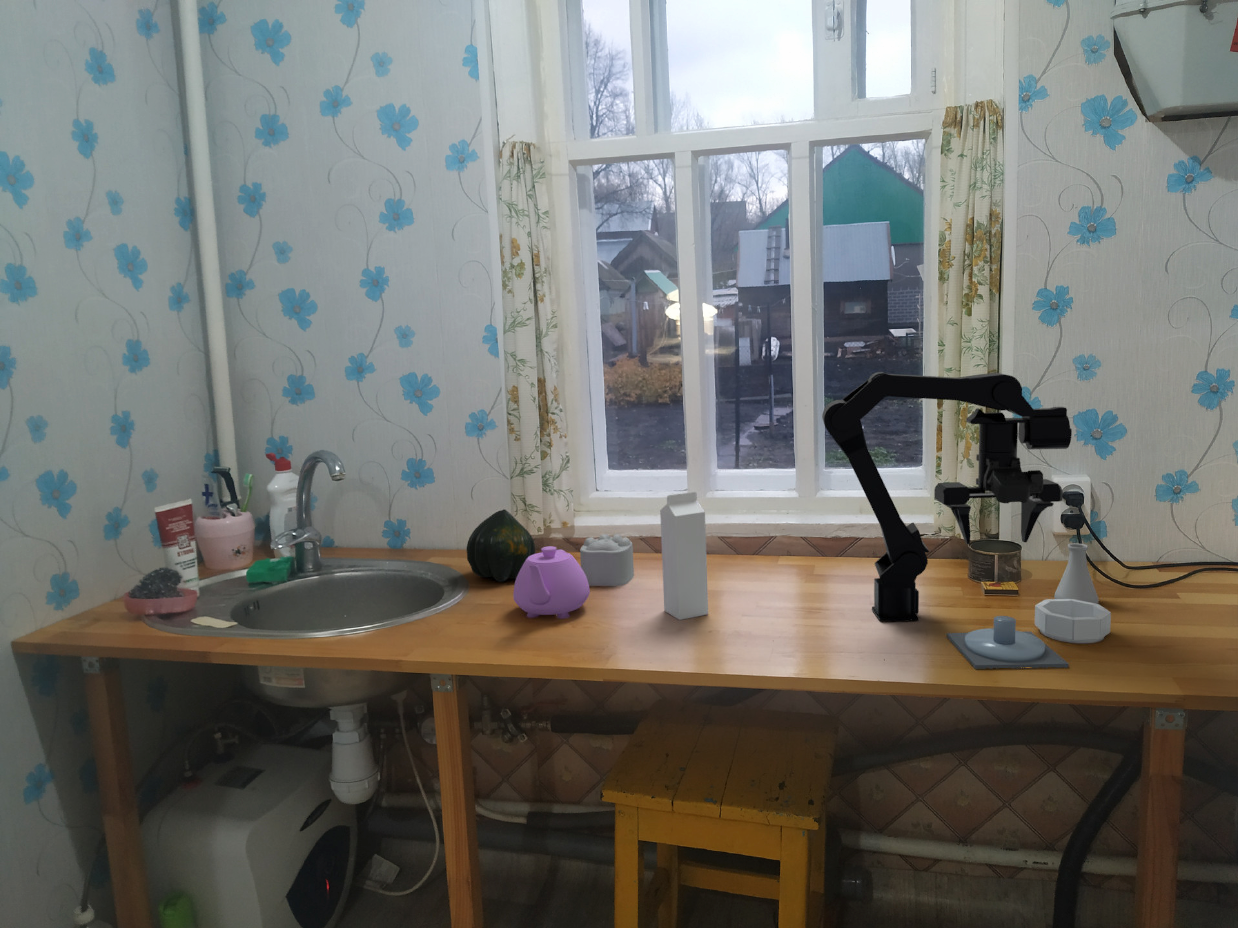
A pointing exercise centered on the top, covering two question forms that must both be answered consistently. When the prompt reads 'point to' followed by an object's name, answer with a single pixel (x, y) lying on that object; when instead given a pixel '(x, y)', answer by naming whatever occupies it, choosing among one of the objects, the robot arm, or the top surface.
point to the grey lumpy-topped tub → (607, 560)
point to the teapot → (550, 584)
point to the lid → (1005, 642)
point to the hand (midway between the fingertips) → (995, 542)
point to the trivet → (981, 662)
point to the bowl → (1072, 620)
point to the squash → (499, 547)
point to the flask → (1077, 577)
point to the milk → (684, 556)
